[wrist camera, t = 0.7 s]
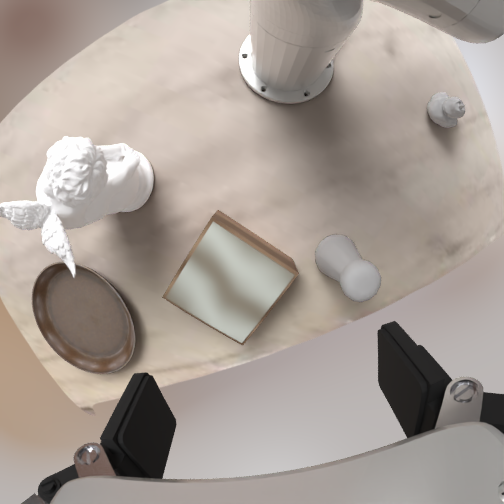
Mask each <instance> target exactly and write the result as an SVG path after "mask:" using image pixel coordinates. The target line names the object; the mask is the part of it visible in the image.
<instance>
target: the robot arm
mask: <svg viewBox="0 0 504 504" xmlns="http://www.w3.org/2000/svg"><path fill="white" fill-rule="evenodd" d="M371 1H374V2H379V3H382V4H385V5H387V6H390V7H392V8H395V9H397V10H399V11H402V12H404V13H406V14H408V15H411V16H413V17H415V18H417V19H419V20H421V21H423V22H425V23H427V24H429V25H431V26H433V27H435V28H437V29H439V30H441V31H443V32H445V33H447V34H449V35H451V36H453V37H455V38H457V39H460V40H463V41H466V42H470V43H476V44H478V43H487V42H490V41H493V40H495V39H497V38H499V37H500V36H501V35H503V34H504V0H371ZM362 13H363V0H250V35H249V36H248V37H247V38H246V39H245V41H244V42H243V44H242V46H241V49H240V52H239V67H240V72H241V74H242V76H243V79H244V80H245V82H246V83H247V84H248V86H249V87H250V88H251V89H252V90H253V91H254V92H256V93H257V94H259V95H260V96H262V97H264V98H266V99H268V100H270V101H274V102H278V103H285V104H294V103H301V102H305V101H308V100H310V99H312V98H314V97H316V96H317V95H319V94H320V93H321V92H322V91H323V90H324V89H325V88H326V87H327V85H328V84H329V82H330V80H331V78H332V75H333V70H334V62H333V58H334V56H335V55H336V54H337V52H338V51H339V50H340V48H341V47H342V46H343V44H344V43H345V42H346V41H347V39H348V38H349V37H350V35H351V34H352V33H353V31H354V30H355V29H356V27H357V26H358V24H359V22H360V20H361V17H362ZM244 57H246V59H243V58H244ZM327 66H328V68H327ZM262 89H264V90H265V92H262ZM304 94H307V97H306V96H304ZM378 382H379V386H380V388H381V390H382V392H383V393H384V395H385V397H386V399H387V401H388V402H389V404H390V406H391V408H392V410H393V412H394V414H395V415H396V417H397V419H398V421H399V423H400V425H401V427H402V428H403V431H404V432H405V434H406V436H407V439H404V440H401V441H399V442H396V443H393V444H390V445H387V446H384V447H381V448H378V449H375V450H372V451H368V452H365V453H362V454H359V455H355V456H352V457H348V458H345V459H341V460H337V461H333V462H329V463H325V464H320V465H316V466H311V467H306V468H301V469H296V470H290V471H284V472H279V473H272V474H264V475H255V476H246V477H236V478H219V479H162V478H163V473H164V470H165V466H166V462H167V458H168V455H169V451H170V447H171V443H172V439H173V436H174V432H175V428H176V419H175V417H174V415H173V414H172V412H171V410H170V408H169V406H168V404H167V403H166V401H165V399H164V397H163V395H162V393H161V391H160V389H159V387H158V385H157V383H156V381H155V380H154V378H153V376H151V375H149V374H148V373H135V374H134V375H133V376H132V378H131V380H130V382H129V384H128V385H127V387H126V389H125V391H124V393H123V395H122V397H121V399H120V401H119V403H118V404H117V406H116V408H115V410H114V412H113V414H112V416H111V418H110V420H109V422H108V424H107V426H106V428H105V430H104V431H103V433H102V435H101V437H100V439H101V443H100V444H98V443H87V444H84V445H83V446H81V447H80V448H79V449H77V451H76V452H75V455H74V463H75V464H74V465H72V466H70V467H68V468H66V469H64V470H62V471H60V472H58V473H55V474H53V475H51V476H49V477H47V478H45V479H44V480H43V481H42V482H41V483H40V485H39V487H38V495H36V494H33V495H32V496H30V497H29V498H28V499H27V500H25V501H24V502H23V503H22V504H504V394H495V393H485V392H483V386H482V384H481V383H480V382H479V381H478V380H476V379H474V378H471V377H460V378H456V379H455V380H452V379H451V378H450V377H449V375H448V374H447V373H446V372H445V371H444V370H443V369H442V367H441V366H440V365H439V364H438V363H437V362H436V361H435V359H434V358H433V357H432V356H431V355H430V354H429V353H428V352H427V350H426V349H425V348H424V347H423V346H421V345H418V346H417V345H416V343H415V342H414V341H413V340H412V339H411V338H410V337H409V336H408V334H407V333H406V332H405V331H404V330H403V329H402V328H401V327H400V326H399V324H398V323H397V322H395V321H393V322H390V323H387V324H384V325H382V326H381V329H380V330H378Z"/></svg>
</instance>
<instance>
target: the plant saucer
mask: <svg viewBox="0 0 504 504" xmlns="http://www.w3.org/2000/svg"><path fill="white" fill-rule="evenodd" d="M75 267H76V275H75V278H74V277H73V275H72V273H71V271H70V269H69V268H68V266H67V265H66V264H65V263H64V262H57V263H53V264H51V265H49V266H47V267H46V268H45V269H43V270H42V271H41V273H40V274H39V275H38V277H37V278H36V281H35V283H34V286H33V291H32V307H33V313H34V316H35V319H36V322H37V325H38V327H39V329H40V331H41V333H42V335H43V337H44V338H45V340H46V341H47V342H48V344H49V345H50V346H51V347H52V349H53V350H54V351H55V352H56V353H57V354H58V355H59V356H60V357H62V358H63V359H64V360H65V361H67V362H68V363H70V364H71V365H73V366H75V367H77V368H79V369H81V370H84V371H87V372H90V373H96V374H108V373H113V372H116V371H118V370H120V369H121V368H123V367H124V366H125V365H126V364H127V363H128V362H129V361H130V359H131V357H132V355H133V352H134V348H135V330H134V325H133V321H132V318H131V315H130V313H129V310H128V308H127V306H126V304H125V302H124V301H123V299H122V298H121V296H120V295H119V293H118V292H117V291H116V289H115V288H114V287H113V286H112V285H111V284H110V283H109V282H108V281H107V280H106V279H105V278H103V277H102V276H101V275H100V274H98V273H97V272H95V271H94V270H92V269H90V268H88V267H85V266H83V265H80V264H77V263H75Z"/></svg>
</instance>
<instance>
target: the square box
mask: <svg viewBox="0 0 504 504" xmlns="http://www.w3.org/2000/svg"><path fill="white" fill-rule="evenodd" d="M298 274H299V272H298V270H297V268H296V266H295V264H294V261H293V259H292V258H290V257H289V256H287V255H286V254H284V253H283V252H281V251H280V250H278V249H277V248H275V247H274V246H272V245H271V244H269V243H268V242H266V241H265V240H263V239H262V238H260V237H259V236H257V235H256V234H254V233H253V232H251V231H250V230H248V229H247V228H245V227H244V226H242V225H241V224H239V223H238V222H236V221H234V220H233V219H231V218H230V217H228V216H227V215H225V214H224V213H222V212H221V211H219V210H218V211H217V212H216V213H215V214H214V215H213V216H212V218H211V219H210V221H209V222H208V224H207V225H206V227H205V229H204V230H203V232H202V233H201V235H200V236H199V238H198V240H197V241H196V243H195V244H194V246H193V248H192V249H191V251H190V252H189V254H188V256H187V257H186V259H185V260H184V262H183V264H182V265H181V267H180V269H179V270H178V272H177V274H176V275H175V277H174V279H173V280H172V282H171V284H170V285H169V287H168V289H167V290H166V292H165V294H164V295H163V297H162V298H164V299H166V300H167V301H169V302H170V303H172V304H173V305H175V306H177V307H178V308H180V309H181V310H183V311H185V312H186V313H188V314H189V315H191V316H193V317H194V318H196V319H198V320H199V321H201V322H203V323H204V324H206V325H208V326H209V327H211V328H213V329H215V330H216V331H218V332H220V333H222V334H223V335H225V336H227V337H228V338H230V339H232V340H234V341H236V342H237V343H239V344H241V345H244V343H245V342H246V341H247V340H248V338H249V337H250V336H251V335H252V333H253V332H254V331H255V330H256V328H257V327H258V326H259V325H260V323H261V322H262V321H263V320H264V318H265V317H266V316H267V315H268V313H269V312H270V311H271V309H272V308H273V307H274V306H275V304H276V303H277V302H278V300H279V299H280V298H281V297H282V295H283V294H284V293H285V291H286V290H287V289H288V287H289V286H290V285H291V283H292V282H293V281H294V279H295V278H296V277H297V275H298Z"/></svg>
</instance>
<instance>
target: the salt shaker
mask: <svg viewBox="0 0 504 504" xmlns="http://www.w3.org/2000/svg"><path fill="white" fill-rule="evenodd" d="M315 261H316V264H317V266H318V268H319V270H320V271H321V272H322V273H324V274H325V275H327V276H328V277H330V278H332V279H334V280H336V281H338V282H340V285H341V288H342V290H343V292H344V294H345V295H346V296H347V297H349V298H350V299H351V300H353V301H358V302H363V301H366V300H369V299H370V298H372V297H373V296H374V295H375V294H376V293H377V291H378V289H379V288H380V284H381V276H380V273H379V270H378V269H377V267H376V266H375V265H373V264H372V263H371V262H370V261H367V260H363V259H362V257H361V255H360V253H359V252H358V250H357V248H356V246H355V244H354V242H353V241H352V240H351V239H349V238H348V237H347V236H344V235H339V234H334V235H330V236H327V237H326V238H325V239H323V240H322V241H321V242H320V243H319V245H318V247H317V249H316V251H315Z"/></svg>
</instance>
